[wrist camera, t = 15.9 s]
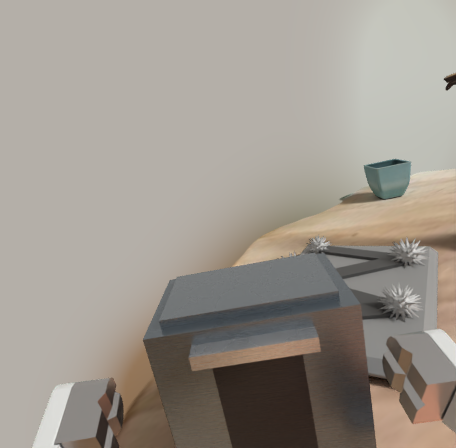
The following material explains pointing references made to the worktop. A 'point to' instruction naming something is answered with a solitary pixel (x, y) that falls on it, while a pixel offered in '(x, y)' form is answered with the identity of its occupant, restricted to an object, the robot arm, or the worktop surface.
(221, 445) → the dispenser
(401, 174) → the flower pot
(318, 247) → the spiky succulent planter
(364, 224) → the worktop surface
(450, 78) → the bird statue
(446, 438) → the worktop surface
